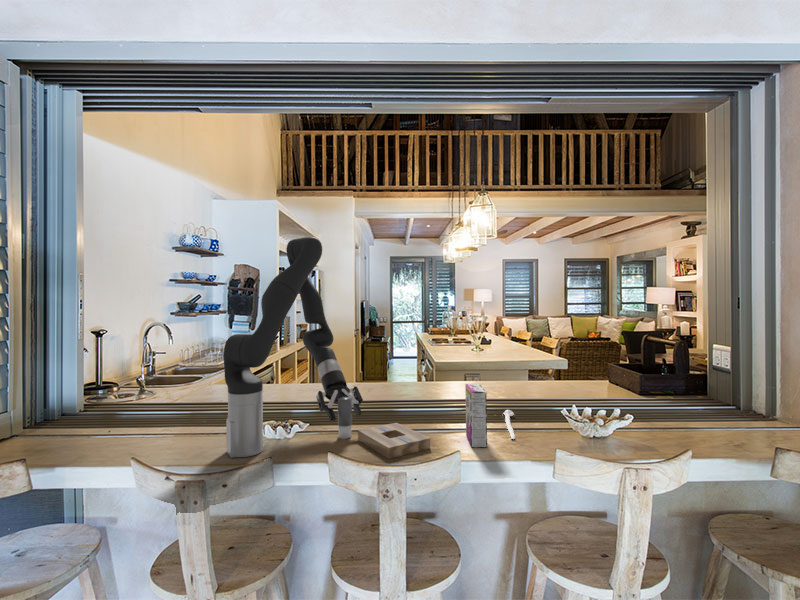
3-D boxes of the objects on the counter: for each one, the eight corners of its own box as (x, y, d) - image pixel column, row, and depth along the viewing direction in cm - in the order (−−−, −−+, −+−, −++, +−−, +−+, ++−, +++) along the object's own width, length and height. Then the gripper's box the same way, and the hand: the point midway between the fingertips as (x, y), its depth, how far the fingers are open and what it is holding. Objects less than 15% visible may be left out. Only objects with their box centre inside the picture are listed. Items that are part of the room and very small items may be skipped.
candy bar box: (464, 435, 130) (464, 383, 130) (480, 435, 130) (480, 383, 130) (470, 448, 119) (470, 391, 119) (487, 448, 118) (487, 391, 118)
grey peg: (341, 440, 126) (341, 400, 126) (335, 436, 130) (335, 398, 130) (354, 437, 128) (354, 398, 128) (348, 433, 132) (348, 396, 132)
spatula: (523, 443, 124) (523, 433, 124) (509, 442, 125) (509, 432, 125) (513, 416, 152) (513, 409, 152) (502, 416, 152) (502, 408, 152)
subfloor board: (388, 458, 111) (388, 447, 111) (358, 440, 126) (358, 429, 126) (430, 448, 118) (430, 437, 118) (396, 431, 134) (396, 422, 134)
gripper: (314, 371, 131) (328, 415, 122) (354, 367, 139) (370, 408, 130) (308, 385, 136) (321, 428, 126) (347, 380, 144) (363, 421, 134)
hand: (346, 418), depth 128 cm, fingers open, 8 cm apart
